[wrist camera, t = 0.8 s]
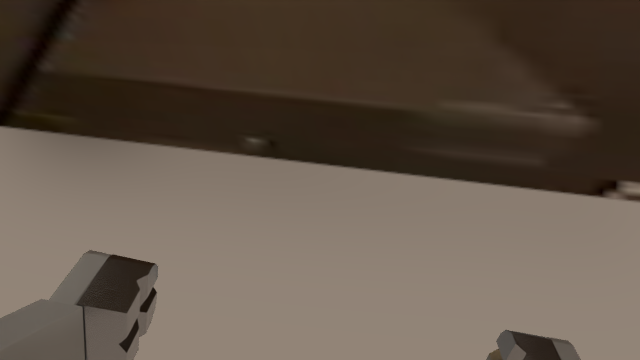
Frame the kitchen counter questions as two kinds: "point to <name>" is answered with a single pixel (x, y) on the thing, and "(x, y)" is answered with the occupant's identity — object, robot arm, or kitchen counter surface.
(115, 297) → the robot arm
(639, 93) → the kitchen counter surface
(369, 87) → the kitchen counter surface
